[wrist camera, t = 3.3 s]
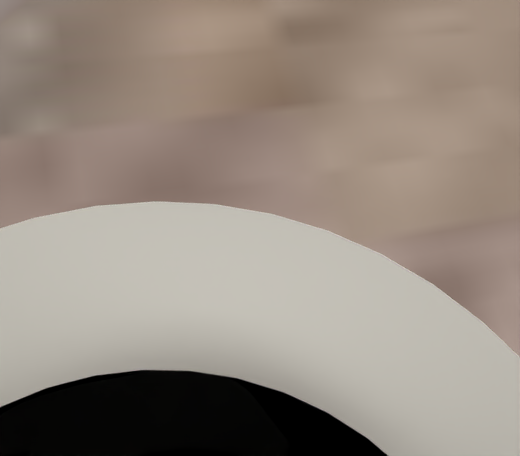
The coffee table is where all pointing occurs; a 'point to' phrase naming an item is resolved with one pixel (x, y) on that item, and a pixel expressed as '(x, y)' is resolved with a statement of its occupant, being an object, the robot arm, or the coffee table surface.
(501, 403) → the cream bottle
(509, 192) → the coffee table surface
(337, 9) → the coffee table surface
